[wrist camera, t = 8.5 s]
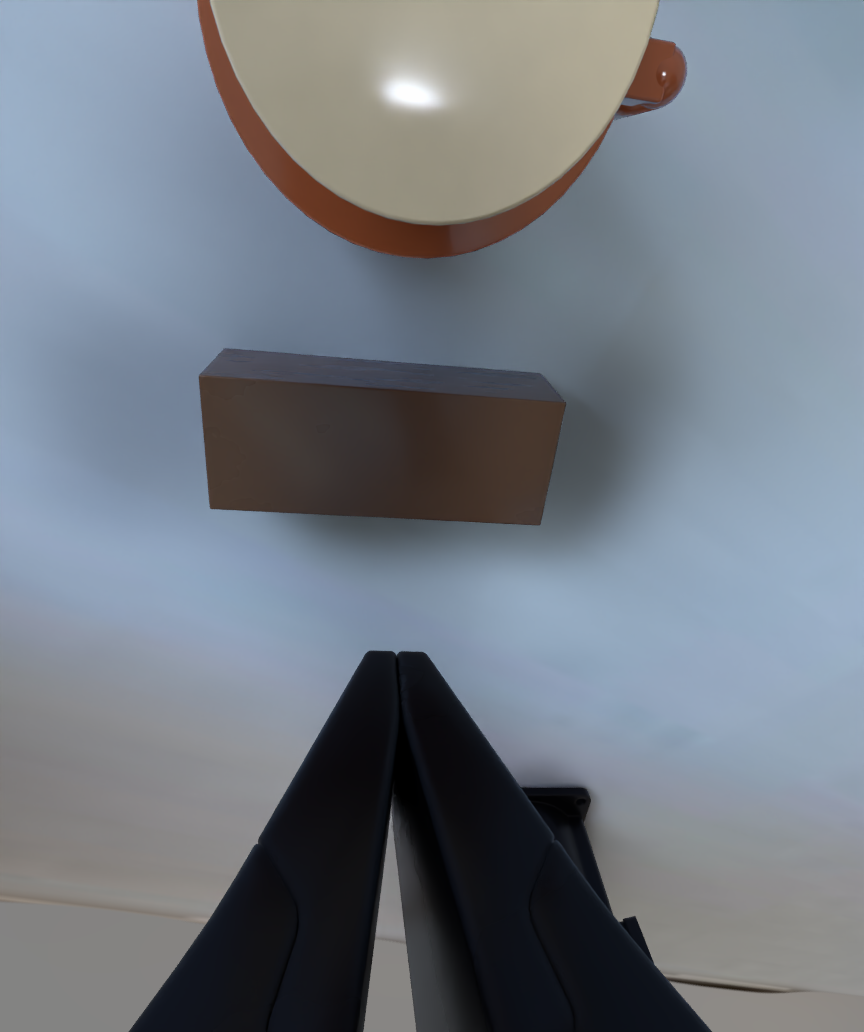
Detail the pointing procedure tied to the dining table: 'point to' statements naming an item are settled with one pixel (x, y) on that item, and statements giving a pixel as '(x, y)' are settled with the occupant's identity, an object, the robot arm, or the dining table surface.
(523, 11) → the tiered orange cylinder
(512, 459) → the walnut block
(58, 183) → the dining table surface
